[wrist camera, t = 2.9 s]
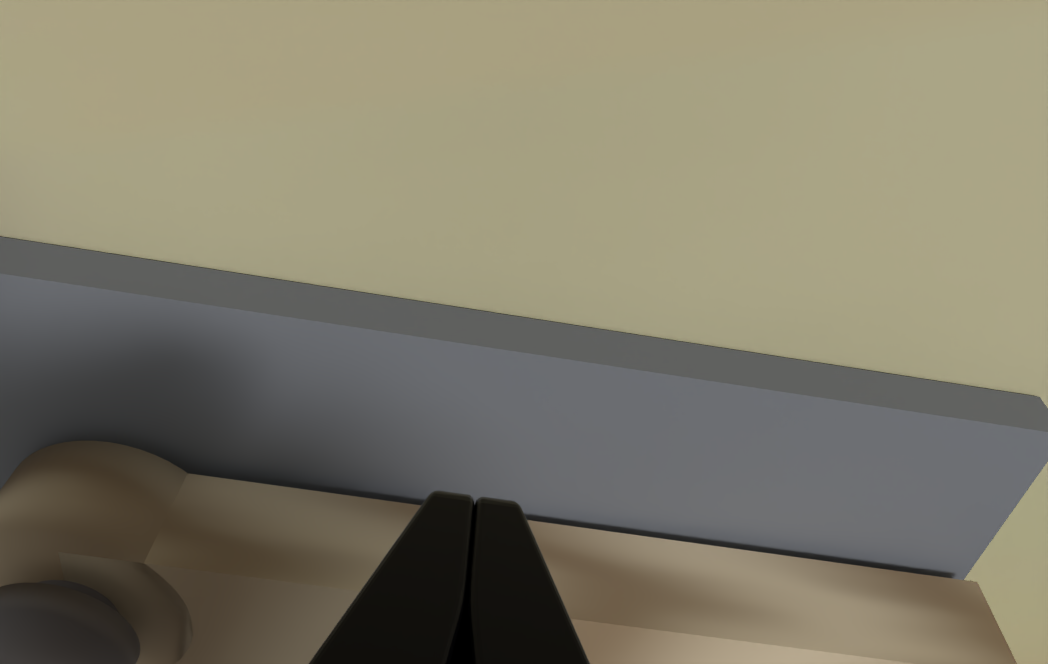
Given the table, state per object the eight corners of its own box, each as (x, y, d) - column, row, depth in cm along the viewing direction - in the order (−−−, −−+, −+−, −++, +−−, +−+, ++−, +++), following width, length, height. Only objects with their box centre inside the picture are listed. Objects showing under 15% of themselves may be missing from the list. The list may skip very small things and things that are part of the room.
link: (30, 571, 17) (-59, 716, 15) (-9, 421, 15) (-121, 562, 12) (898, 682, 18) (951, 833, 16) (988, 560, 16) (1066, 714, 14)
